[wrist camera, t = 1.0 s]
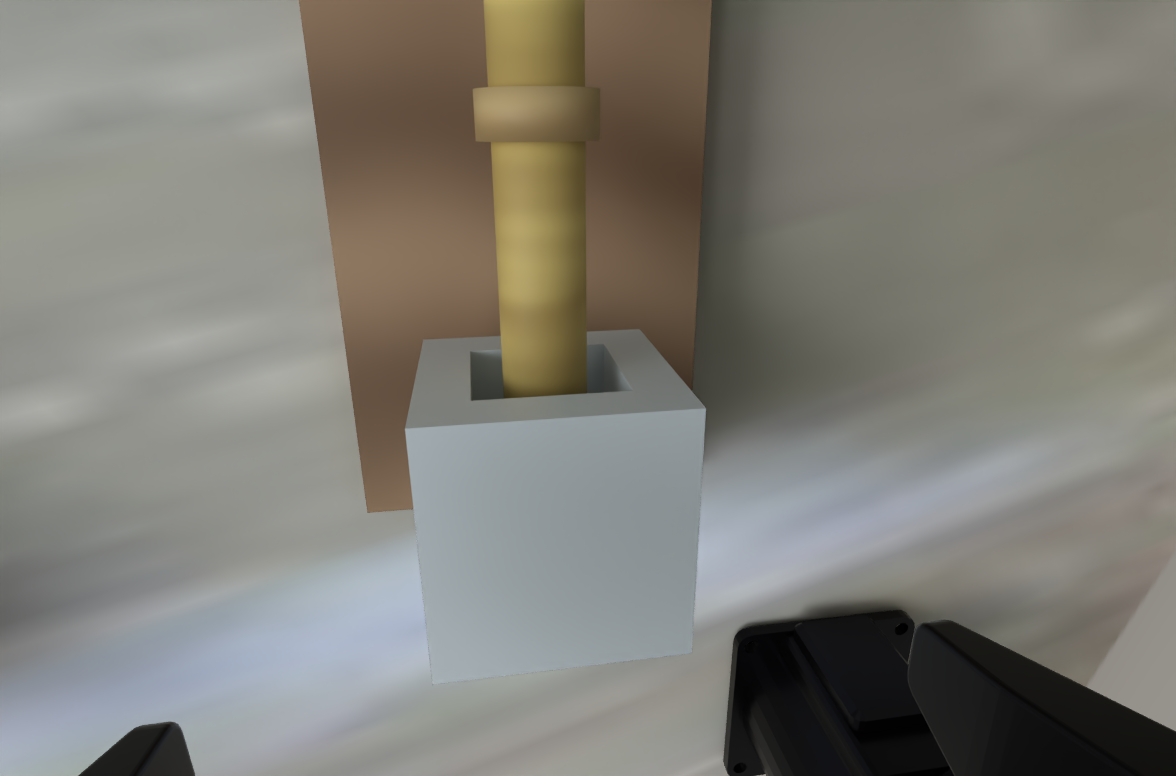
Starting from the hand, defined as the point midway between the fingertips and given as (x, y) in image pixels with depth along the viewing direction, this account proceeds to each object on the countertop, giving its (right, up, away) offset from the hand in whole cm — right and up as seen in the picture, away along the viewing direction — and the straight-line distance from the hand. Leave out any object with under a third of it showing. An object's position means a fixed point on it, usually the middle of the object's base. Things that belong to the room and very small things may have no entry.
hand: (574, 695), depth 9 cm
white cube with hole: (-1, +3, +8) cm, 8 cm away
